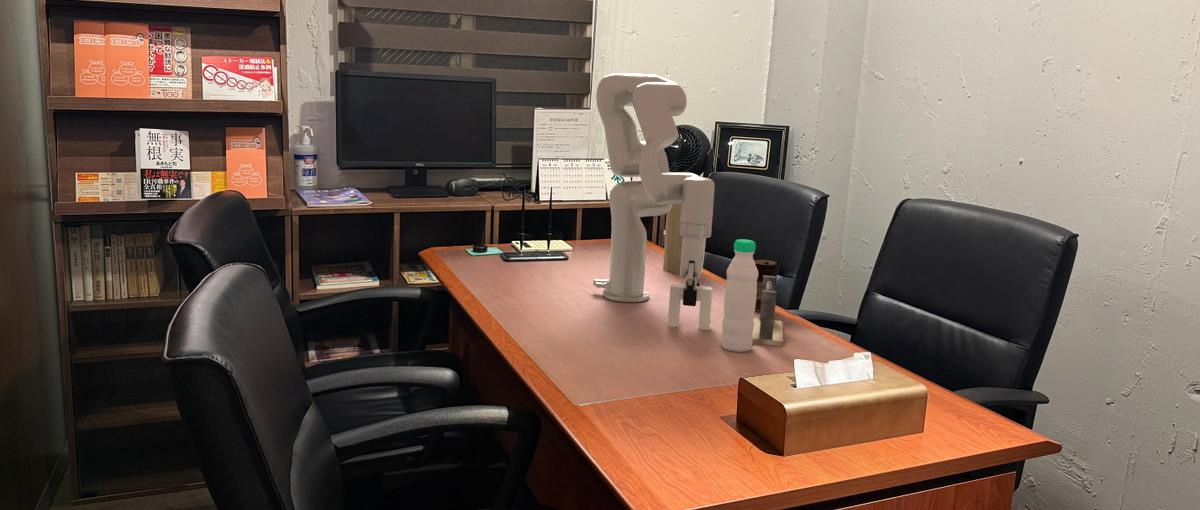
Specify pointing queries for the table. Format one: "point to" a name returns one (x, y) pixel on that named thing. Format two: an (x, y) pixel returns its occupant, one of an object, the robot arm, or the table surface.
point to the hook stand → (768, 317)
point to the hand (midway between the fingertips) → (690, 301)
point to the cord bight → (702, 295)
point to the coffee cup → (763, 269)
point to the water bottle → (740, 298)
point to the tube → (673, 240)
